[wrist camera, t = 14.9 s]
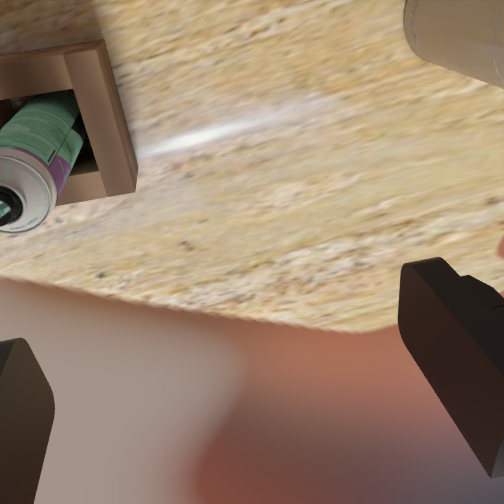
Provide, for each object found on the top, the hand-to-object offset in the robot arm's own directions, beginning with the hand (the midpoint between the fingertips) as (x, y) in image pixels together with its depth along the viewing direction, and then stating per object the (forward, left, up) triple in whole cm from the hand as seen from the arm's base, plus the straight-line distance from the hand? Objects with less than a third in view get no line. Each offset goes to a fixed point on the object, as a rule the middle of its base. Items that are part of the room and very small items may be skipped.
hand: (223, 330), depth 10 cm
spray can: (+12, +4, -38) cm, 40 cm away
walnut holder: (+12, +4, -38) cm, 40 cm away
